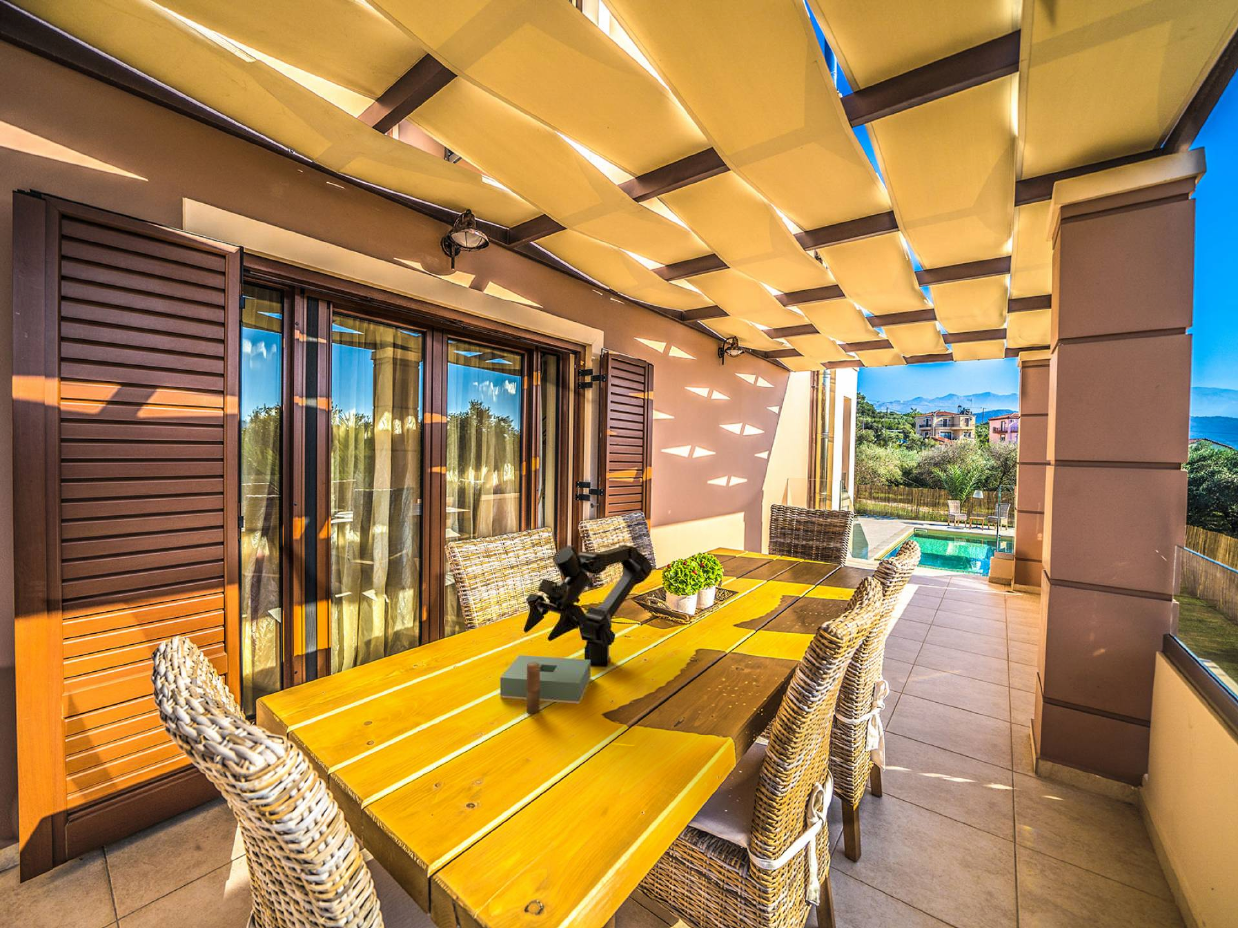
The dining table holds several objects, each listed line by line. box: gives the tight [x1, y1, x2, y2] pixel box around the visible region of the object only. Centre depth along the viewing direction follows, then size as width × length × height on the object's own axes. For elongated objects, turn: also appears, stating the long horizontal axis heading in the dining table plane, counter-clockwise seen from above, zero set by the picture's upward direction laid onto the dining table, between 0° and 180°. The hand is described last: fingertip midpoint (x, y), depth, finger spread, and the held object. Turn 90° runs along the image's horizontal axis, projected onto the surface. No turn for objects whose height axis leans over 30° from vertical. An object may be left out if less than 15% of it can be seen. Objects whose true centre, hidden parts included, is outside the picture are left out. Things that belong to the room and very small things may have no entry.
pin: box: [526, 662, 541, 715], centre depth 119 cm, size 3×3×11 cm
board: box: [499, 654, 592, 705], centre depth 131 cm, size 20×14×5 cm
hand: (536, 635), depth 128 cm, fingers open, 9 cm apart
